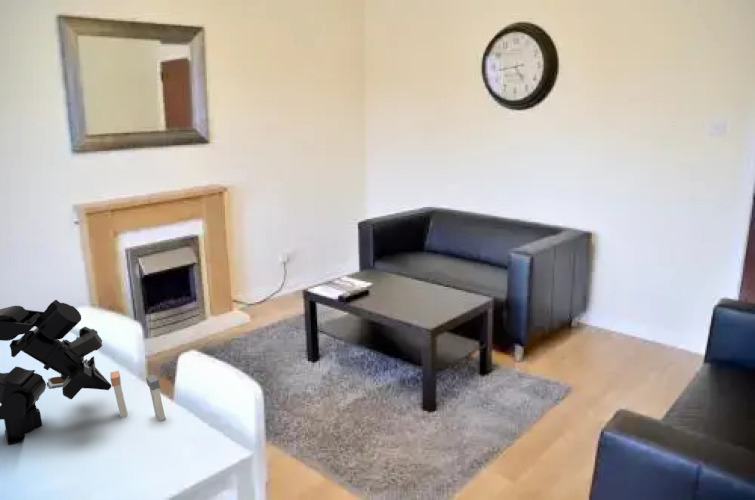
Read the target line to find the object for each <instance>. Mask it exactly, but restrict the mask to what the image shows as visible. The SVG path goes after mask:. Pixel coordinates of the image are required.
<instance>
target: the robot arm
mask: <svg viewBox="0 0 755 500" xmlns="http://www.w3.org/2000/svg"><path fill="white" fill-rule="evenodd" d="M81 321H82V314H81V313H80V312H79V310H78V309H77V308H76V307H75V306H74V305H70V304H68V303H67V302H66V303H65V302H60V301H58V300H57V299H54V300H53V301H51V303H50V304H49V305H48V306H47V308H46V309H45V310H44V311H38V310H31V309H25V308H24V307H23V306H21V305H11V306H8V307H7V306H6V307H3V308H0V341H3V342H5V341H6V342H7V341H11V342H10V344H9V348H10V355H11V357H12V358H15V357H16V356H17V355H18V354H19V353H20V352H23V353H25V354H26V355H28V357H29V356H30V357H32V359H35V360H36V361H38V362H39V363H41V364H43V369H45V370H46V371H49V370H50V369H51V370H53V371H54V372H56V373H57V374H59V375H60V376H59V377H60V378H61V379H63V380H65V379H66V378H67V377H68V376H69V377H68V378H67V379H66V380H65V381H64V382H63V387H61V389H62V395H63V396H64V397H66V398H67V399H69V400H73V399H74V398H75V397H76V396H77V394H79V392H80V391H81V390H82V389H92V390H103V391H110V389H111V388H112V383H110V381H109V380H108V379H107V378H106V377H105V376H104V375H103V374H102V372H100V371H99V369H98V368H97V367H96V362H95V356H94V355H93V356H91V357H90V359H87V358H86V359H84V358H85V356H88V355H89V354H91V353H93V352H94V351H95V352H96V351H98V350H100V349H101V348H102V347H103V343H102V342H103V339H102V338H101V337H100V335H99V334H98V331H97V330H95V329H94V328H89V327H87V326H84V327H82V328H80V329H79V331H78V334H79V335H78V336H77V337H76V339H74V340H73V341H70V340H68V339H63V338H65V337H66V336H67V335H68V334H69V333H70V332H71V331H72V330H73V329H74V328H75V327H76V326H77V325H78V324H79V323H80V322H81ZM35 327H36V328H35ZM33 328H35V329H34V330H33ZM21 335H22V336H21ZM18 336H21V337H20V338H18V339H16V338H17V337H18ZM46 387H47V382H46V380H45V379H44V378H43V376H42V375H41V374H39V373H37V372H36V370H35V369H32V370H31V369H25V368H23V367H22V366H21V367H20V366H15V367H14V368H12V369H11V370H10V371H9V372H0V420H3V422H4V428H5V430H4V433H5V434H4V435H5V438H6V442H7V445H14V444H16V443H20V442H24V441H25V437H26V434H27V435H28V434H29V433H31V432H34V430H36V429H39V428H40V427H43V421H42V415H41V411H40V409H39V408H38V407H37V406H36V405H37V404H36V402H37V401H39V400H40V397H41V396H42V395H43V394H44V392H45V391H46Z"/></svg>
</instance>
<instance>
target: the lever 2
mask: <svg viewBox="0 0 755 500" xmlns="http://www.w3.org/2000/svg"><path fill="white" fill-rule="evenodd" d="M145 379H146V384H147V386H148V387H149V392H150V397H151V401H152V406H153V410H154V415H155V417H156V419H157V420H158V421H159V422H161V421H164V420H166V416H165V410H164V406H163V402H162V396H161V391H160V388H161V386H160V381H159V379H158V377H157V376H156V375H155V373H154V374H151V375H148V376H146V377H145Z"/></svg>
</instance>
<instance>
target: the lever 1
mask: <svg viewBox="0 0 755 500" xmlns="http://www.w3.org/2000/svg"><path fill="white" fill-rule="evenodd" d="M109 373H110V375H109V377H110V382H111V383H110V384H111V388H113V390H114V391H113V392H114V394H115V399H116V403H117V408H118V412H119V416H120V418H124V417H127V416H128V410H127V406H126V401H125V396H124V392H123V389H122V388H123V387H122V383H121V382H122V380H121V375H120V371H119V370H116V371H115V370H114V371H113V372H112V371H111V372H109Z"/></svg>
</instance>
